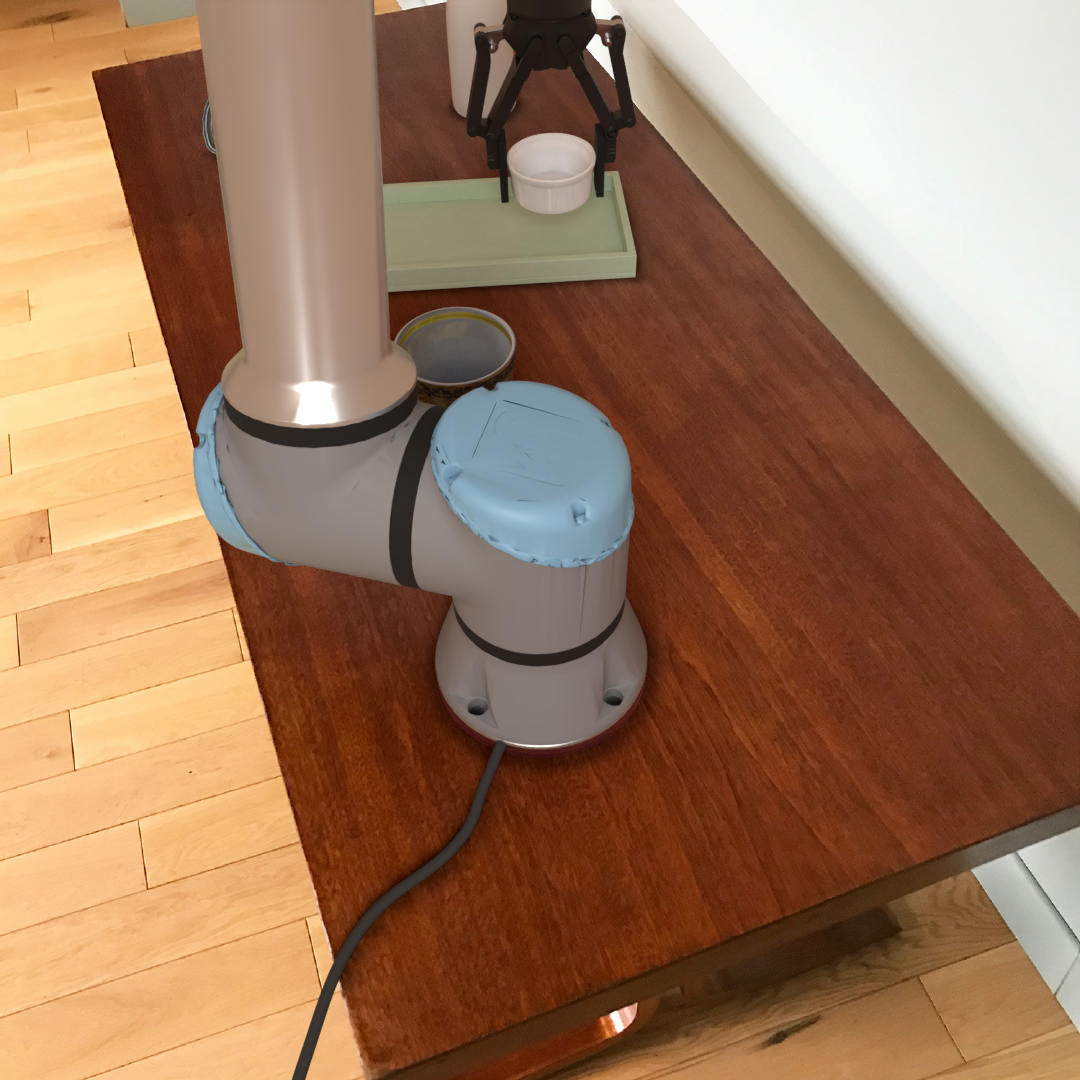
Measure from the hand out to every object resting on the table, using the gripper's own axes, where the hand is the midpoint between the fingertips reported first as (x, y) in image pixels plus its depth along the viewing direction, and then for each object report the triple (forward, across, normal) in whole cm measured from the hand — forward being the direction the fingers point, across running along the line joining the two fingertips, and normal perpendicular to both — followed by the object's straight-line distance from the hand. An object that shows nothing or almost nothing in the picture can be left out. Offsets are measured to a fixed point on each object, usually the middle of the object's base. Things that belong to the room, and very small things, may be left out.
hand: (551, 192), depth 113 cm
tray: (+5, +7, 0) cm, 9 cm away
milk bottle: (+6, +6, -28) cm, 29 cm away
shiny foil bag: (-1, +22, -11) cm, 25 cm away
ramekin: (0, 0, 0) cm, 0 cm away
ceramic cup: (+5, +11, +30) cm, 32 cm away
